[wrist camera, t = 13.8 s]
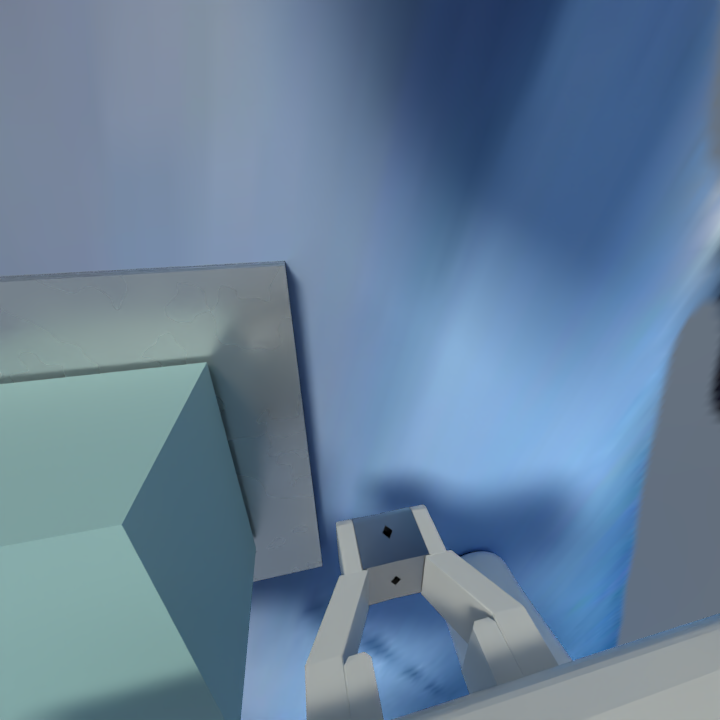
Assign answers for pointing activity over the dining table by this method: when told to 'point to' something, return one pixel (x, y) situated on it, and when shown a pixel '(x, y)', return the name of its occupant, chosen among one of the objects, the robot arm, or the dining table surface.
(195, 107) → the dining table surface
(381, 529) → the robot arm
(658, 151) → the dining table surface
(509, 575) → the drinking glass
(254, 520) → the base
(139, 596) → the cover
